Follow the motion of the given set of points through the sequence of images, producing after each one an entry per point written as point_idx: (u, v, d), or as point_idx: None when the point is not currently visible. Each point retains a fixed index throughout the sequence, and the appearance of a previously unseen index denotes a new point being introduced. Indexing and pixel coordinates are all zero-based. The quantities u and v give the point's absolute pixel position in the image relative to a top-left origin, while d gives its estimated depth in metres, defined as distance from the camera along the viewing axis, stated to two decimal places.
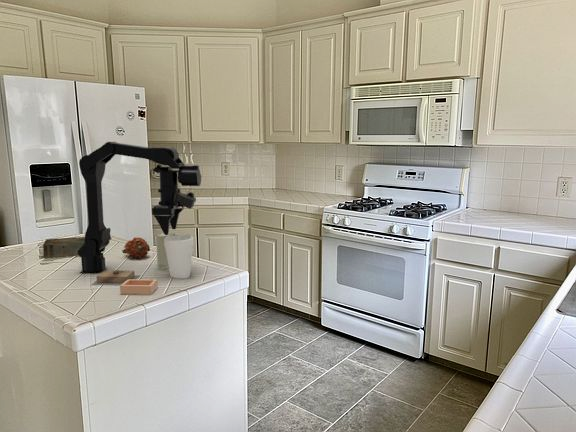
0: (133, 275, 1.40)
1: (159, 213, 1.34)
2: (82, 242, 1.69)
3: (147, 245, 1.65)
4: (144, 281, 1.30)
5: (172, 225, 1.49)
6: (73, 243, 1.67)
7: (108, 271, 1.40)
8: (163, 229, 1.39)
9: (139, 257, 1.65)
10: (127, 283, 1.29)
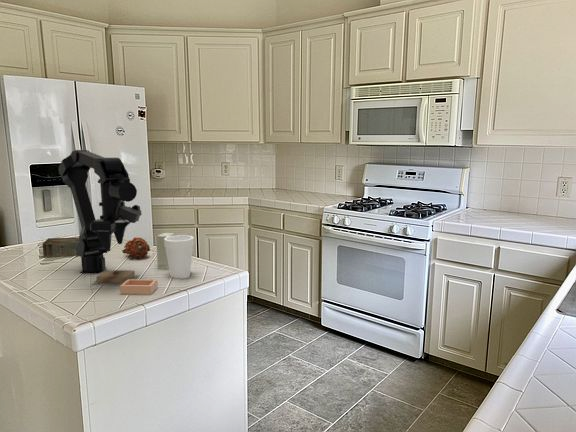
0: (133, 275, 1.40)
1: (97, 229, 1.26)
2: None
3: (147, 245, 1.65)
4: (144, 281, 1.30)
5: (118, 240, 1.41)
6: (71, 243, 1.67)
7: (108, 271, 1.40)
8: (104, 245, 1.31)
9: (139, 257, 1.65)
10: (127, 283, 1.29)
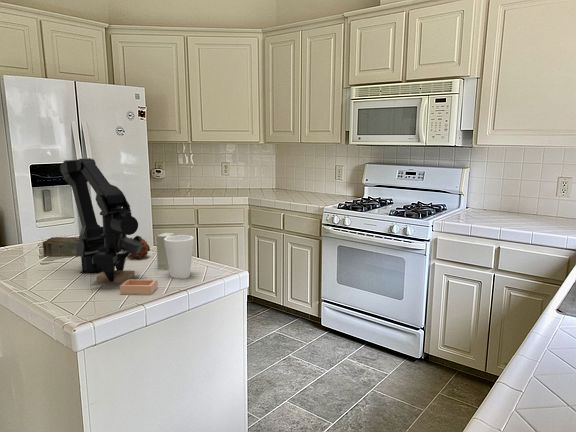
0: (133, 275, 1.40)
1: (99, 262, 1.28)
2: None
3: (147, 245, 1.65)
4: (144, 281, 1.30)
5: None
6: (70, 243, 1.67)
7: None
8: (108, 276, 1.34)
9: (139, 257, 1.65)
10: (127, 283, 1.29)
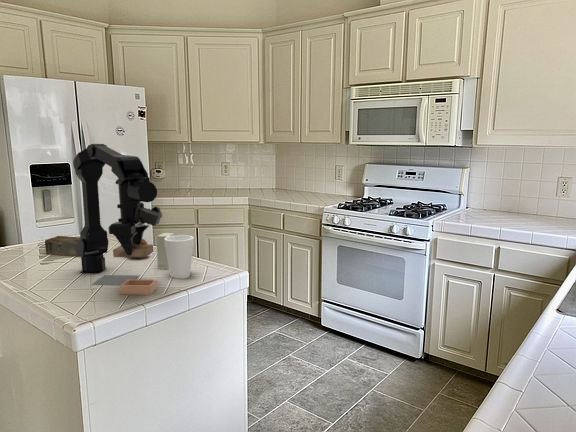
0: (152, 249, 1.30)
1: (117, 232, 1.17)
2: (74, 243, 1.67)
3: None
4: (144, 281, 1.30)
5: None
6: (67, 243, 1.67)
7: None
8: (125, 249, 1.23)
9: (139, 257, 1.65)
10: (127, 283, 1.29)
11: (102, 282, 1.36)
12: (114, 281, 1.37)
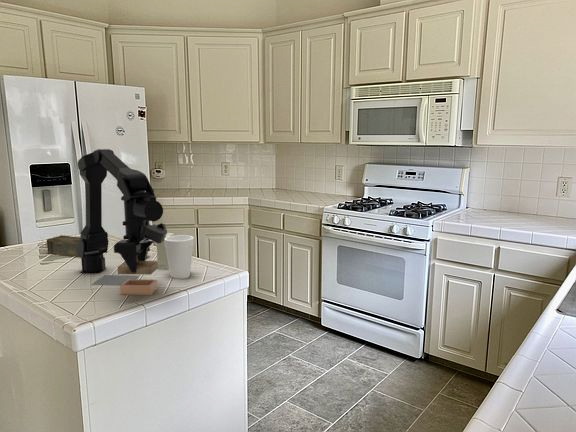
0: (156, 266, 1.29)
1: (122, 251, 1.17)
2: (73, 243, 1.66)
3: None
4: (144, 281, 1.30)
5: None
6: (66, 243, 1.67)
7: None
8: (130, 266, 1.23)
9: None
10: (127, 283, 1.29)
11: (102, 282, 1.36)
12: (114, 281, 1.37)
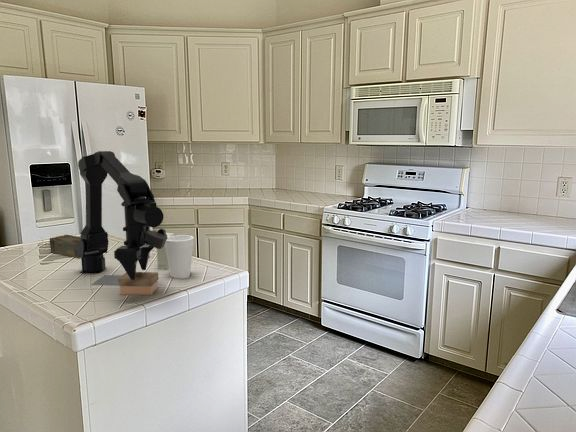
0: (157, 277, 1.30)
1: (122, 257, 1.17)
2: (70, 243, 1.66)
3: None
4: None
5: (141, 265, 1.32)
6: (65, 243, 1.68)
7: None
8: (129, 273, 1.22)
9: None
10: None
11: (102, 282, 1.36)
12: (114, 281, 1.37)
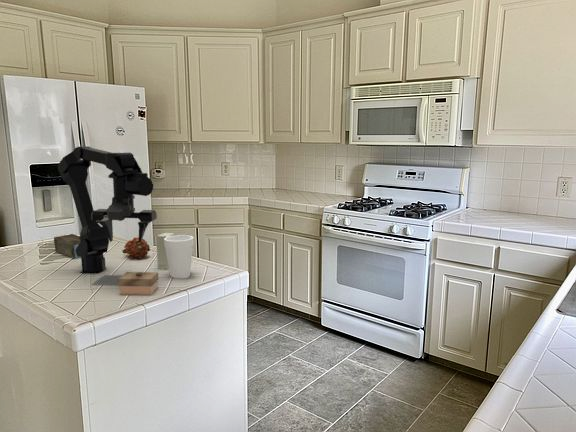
0: (157, 277, 1.30)
1: None
2: (68, 244, 1.66)
3: (147, 245, 1.65)
4: None
5: None
6: (64, 243, 1.68)
7: (130, 273, 1.30)
8: None
9: (139, 257, 1.65)
10: None
11: (102, 282, 1.36)
12: (114, 281, 1.37)
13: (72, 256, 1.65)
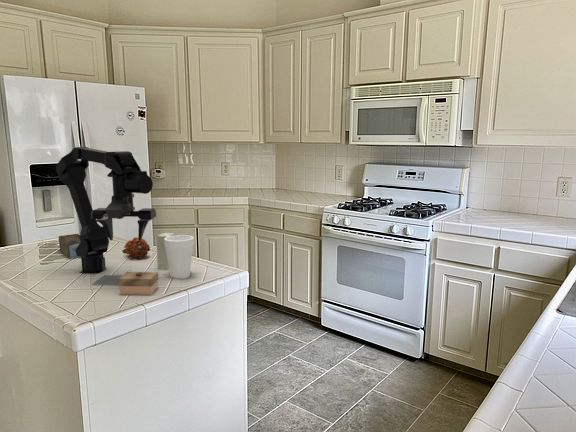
0: (157, 277, 1.30)
1: None
2: (65, 243, 1.66)
3: (147, 245, 1.65)
4: None
5: None
6: (63, 242, 1.68)
7: (130, 273, 1.30)
8: None
9: (139, 257, 1.65)
10: None
11: (102, 282, 1.36)
12: (114, 281, 1.37)
13: (68, 256, 1.65)
